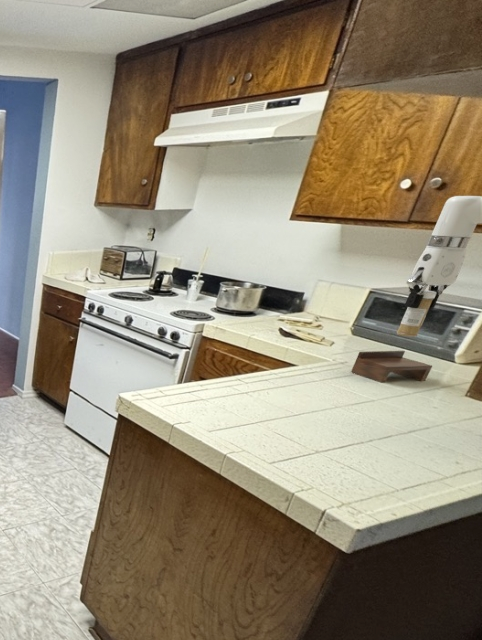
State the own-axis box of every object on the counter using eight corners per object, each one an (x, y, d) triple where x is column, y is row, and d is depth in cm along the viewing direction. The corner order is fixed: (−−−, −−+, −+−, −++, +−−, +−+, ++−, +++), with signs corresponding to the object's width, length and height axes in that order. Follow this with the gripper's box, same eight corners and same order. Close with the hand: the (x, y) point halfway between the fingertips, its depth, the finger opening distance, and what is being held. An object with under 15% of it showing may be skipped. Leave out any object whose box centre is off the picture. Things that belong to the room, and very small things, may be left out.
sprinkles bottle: (419, 336, 141) (439, 291, 136) (412, 337, 139) (433, 292, 134) (399, 332, 145) (418, 289, 140) (392, 334, 143) (411, 289, 138)
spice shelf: (425, 380, 144) (435, 359, 141) (380, 382, 142) (390, 360, 139) (393, 371, 152) (402, 350, 150) (350, 372, 150) (359, 351, 147)
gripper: (438, 244, 127) (408, 310, 134) (489, 244, 129) (457, 309, 136) (406, 241, 134) (380, 304, 141) (456, 242, 136) (427, 304, 143)
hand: (418, 306), depth 139 cm, fingers closed on sprinkles bottle, 4 cm apart
